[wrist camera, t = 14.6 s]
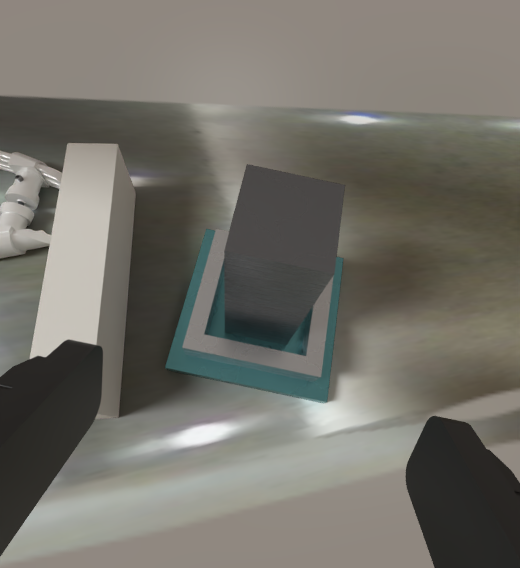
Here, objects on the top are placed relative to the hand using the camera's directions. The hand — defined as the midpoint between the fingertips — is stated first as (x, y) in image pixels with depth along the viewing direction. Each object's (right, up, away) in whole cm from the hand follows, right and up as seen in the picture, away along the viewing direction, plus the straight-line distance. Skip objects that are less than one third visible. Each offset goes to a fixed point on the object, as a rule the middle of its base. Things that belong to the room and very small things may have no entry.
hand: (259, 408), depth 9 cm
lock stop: (0, +1, +15) cm, 15 cm away
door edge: (-10, +3, +15) cm, 19 cm away
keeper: (0, +1, +16) cm, 16 cm away
